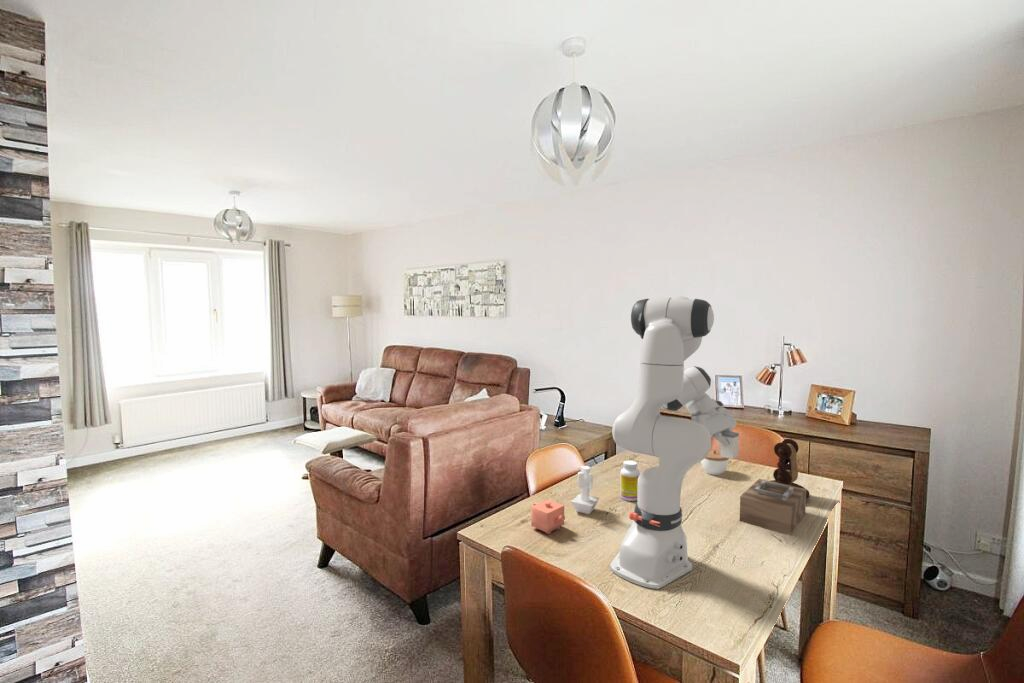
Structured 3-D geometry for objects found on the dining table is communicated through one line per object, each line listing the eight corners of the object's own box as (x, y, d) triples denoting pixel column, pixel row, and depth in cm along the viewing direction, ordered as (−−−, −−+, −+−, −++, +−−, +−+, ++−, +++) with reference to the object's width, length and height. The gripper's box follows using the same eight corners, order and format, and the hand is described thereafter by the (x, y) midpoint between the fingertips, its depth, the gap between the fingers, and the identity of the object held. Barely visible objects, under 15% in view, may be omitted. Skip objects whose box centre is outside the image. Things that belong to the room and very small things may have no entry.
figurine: (600, 507, 158) (600, 464, 157) (590, 518, 150) (590, 472, 149) (580, 502, 162) (580, 460, 161) (569, 513, 154) (569, 469, 152)
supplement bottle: (640, 502, 162) (640, 466, 161) (620, 501, 163) (620, 465, 162) (638, 494, 168) (639, 460, 167) (620, 493, 170) (620, 458, 169)
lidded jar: (733, 477, 184) (734, 454, 183) (706, 477, 184) (706, 454, 184) (721, 467, 195) (722, 445, 194) (695, 468, 195) (696, 446, 194)
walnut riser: (789, 535, 138) (791, 504, 137) (739, 520, 147) (740, 491, 146) (805, 513, 152) (806, 484, 151) (758, 501, 162) (759, 474, 161)
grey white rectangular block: (732, 458, 154) (733, 435, 153) (720, 456, 157) (721, 432, 156) (737, 456, 156) (738, 432, 156) (725, 453, 160) (726, 430, 159)
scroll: (800, 508, 156) (803, 449, 154) (754, 495, 167) (756, 440, 165) (815, 496, 165) (817, 441, 164) (770, 484, 176) (772, 432, 175)
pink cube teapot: (556, 540, 137) (555, 513, 136) (526, 526, 145) (526, 501, 144) (572, 531, 142) (572, 504, 141) (543, 518, 151) (543, 493, 150)
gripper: (695, 409, 154) (724, 444, 147) (723, 400, 167) (751, 433, 161) (682, 420, 158) (709, 455, 151) (711, 411, 171) (737, 443, 164)
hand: (731, 443), depth 156 cm, fingers closed on grey white rectangular block, 4 cm apart
